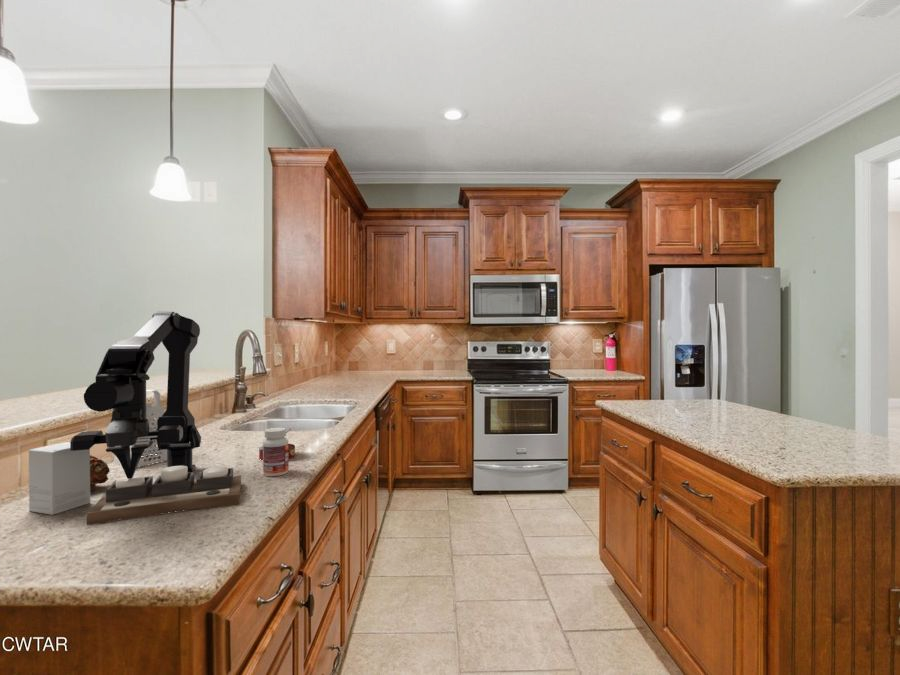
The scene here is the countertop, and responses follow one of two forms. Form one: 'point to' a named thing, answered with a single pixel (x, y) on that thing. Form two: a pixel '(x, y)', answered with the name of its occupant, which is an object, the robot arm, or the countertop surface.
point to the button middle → (174, 474)
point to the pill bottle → (275, 452)
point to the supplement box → (58, 478)
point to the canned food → (290, 450)
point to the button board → (165, 497)
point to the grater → (152, 412)
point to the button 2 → (215, 472)
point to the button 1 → (130, 481)
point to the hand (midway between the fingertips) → (130, 478)
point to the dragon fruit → (97, 471)
